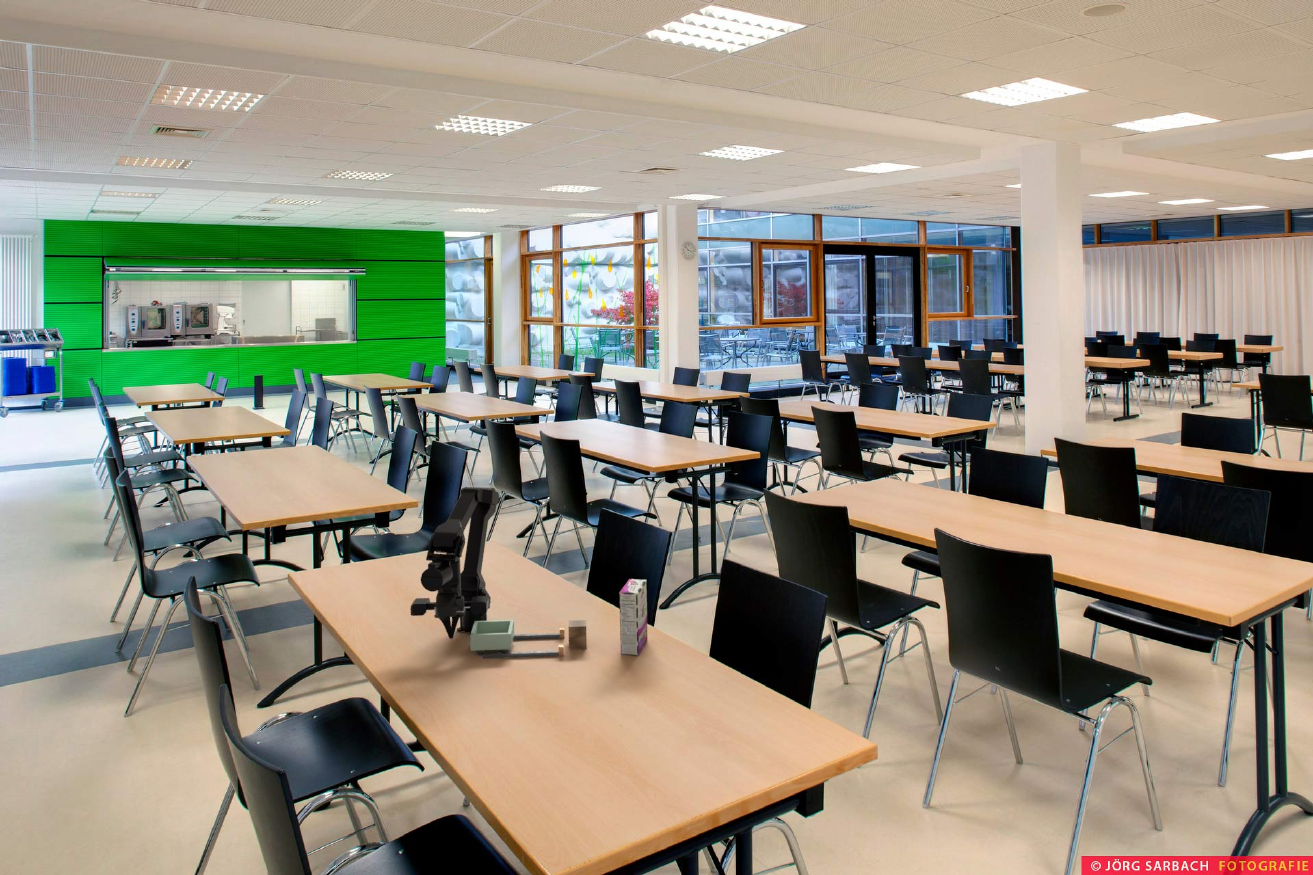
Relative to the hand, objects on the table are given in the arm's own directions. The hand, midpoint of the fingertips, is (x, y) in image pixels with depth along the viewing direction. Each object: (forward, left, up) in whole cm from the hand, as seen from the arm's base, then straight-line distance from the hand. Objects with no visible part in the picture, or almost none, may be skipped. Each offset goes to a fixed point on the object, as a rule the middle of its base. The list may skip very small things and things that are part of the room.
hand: (451, 638), depth 226 cm
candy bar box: (+41, +21, -3) cm, 46 cm away
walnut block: (+28, +16, -3) cm, 32 cm away
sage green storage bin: (+9, +5, -3) cm, 11 cm away
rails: (+16, +9, -3) cm, 19 cm away
